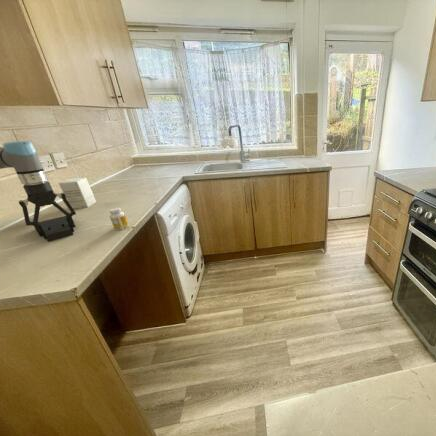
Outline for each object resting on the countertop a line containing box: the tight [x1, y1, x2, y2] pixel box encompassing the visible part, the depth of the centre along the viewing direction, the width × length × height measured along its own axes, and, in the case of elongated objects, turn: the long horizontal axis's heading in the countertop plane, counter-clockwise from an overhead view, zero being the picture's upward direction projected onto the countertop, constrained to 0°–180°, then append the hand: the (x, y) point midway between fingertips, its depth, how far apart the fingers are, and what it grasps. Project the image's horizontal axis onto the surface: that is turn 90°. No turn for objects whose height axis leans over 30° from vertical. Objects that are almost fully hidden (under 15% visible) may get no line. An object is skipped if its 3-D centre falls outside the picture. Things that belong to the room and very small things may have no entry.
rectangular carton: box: [58, 177, 97, 210], centre depth 135 cm, size 9×9×15 cm
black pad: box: [44, 223, 74, 243], centre depth 104 cm, size 10×8×3 cm
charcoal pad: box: [37, 215, 76, 237], centre depth 109 cm, size 16×12×3 cm
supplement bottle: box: [109, 207, 130, 231], centre depth 107 cm, size 5×5×10 cm
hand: (59, 234), depth 104 cm, fingers closed on black pad, 8 cm apart
